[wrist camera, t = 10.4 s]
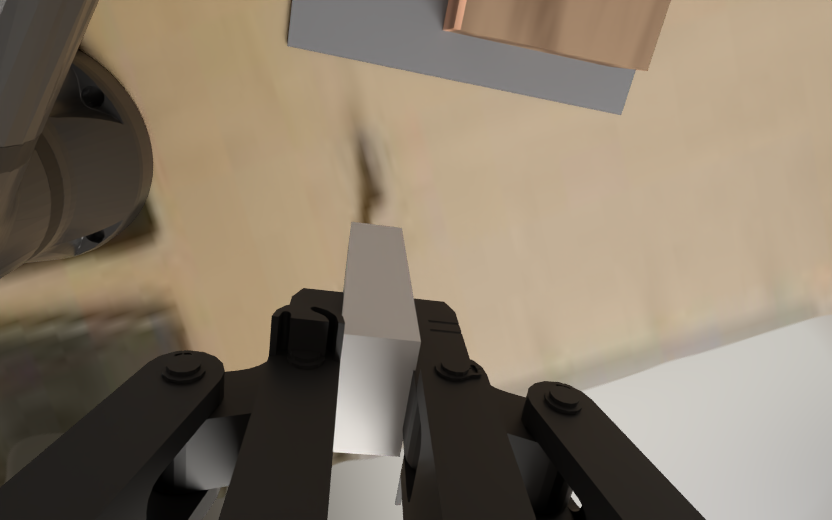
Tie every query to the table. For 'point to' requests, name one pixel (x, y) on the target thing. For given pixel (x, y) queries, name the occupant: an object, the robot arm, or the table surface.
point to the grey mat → (450, 51)
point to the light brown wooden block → (566, 27)
